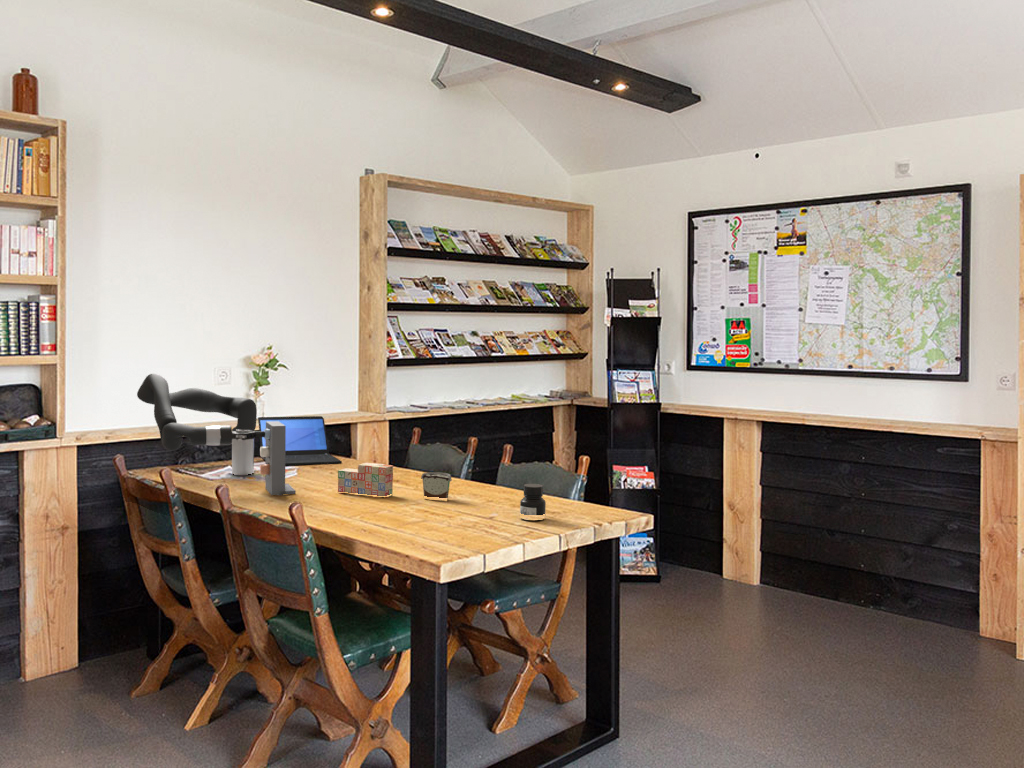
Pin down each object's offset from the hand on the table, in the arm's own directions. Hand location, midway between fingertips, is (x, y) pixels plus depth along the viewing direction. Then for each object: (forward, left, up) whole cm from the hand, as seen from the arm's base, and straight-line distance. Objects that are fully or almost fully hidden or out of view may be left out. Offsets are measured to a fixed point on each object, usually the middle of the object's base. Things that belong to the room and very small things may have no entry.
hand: (264, 434), depth 346 cm
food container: (+33, +61, -23) cm, 73 cm away
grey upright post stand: (0, +6, -23) cm, 24 cm away
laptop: (-78, +28, -24) cm, 87 cm away
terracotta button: (0, +1, -16) cm, 16 cm away
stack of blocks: (+15, +36, -23) cm, 46 cm away
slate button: (0, +2, -2) cm, 3 cm away
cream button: (0, +1, -9) cm, 9 cm away
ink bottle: (+76, +80, -23) cm, 113 cm away
